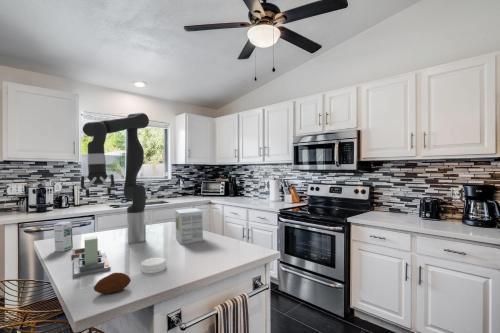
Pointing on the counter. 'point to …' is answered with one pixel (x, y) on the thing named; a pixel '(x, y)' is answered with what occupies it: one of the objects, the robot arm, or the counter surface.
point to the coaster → (153, 265)
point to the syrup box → (63, 236)
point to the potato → (112, 283)
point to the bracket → (77, 252)
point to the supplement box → (189, 225)
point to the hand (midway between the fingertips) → (98, 196)
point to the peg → (91, 250)
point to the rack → (90, 265)
